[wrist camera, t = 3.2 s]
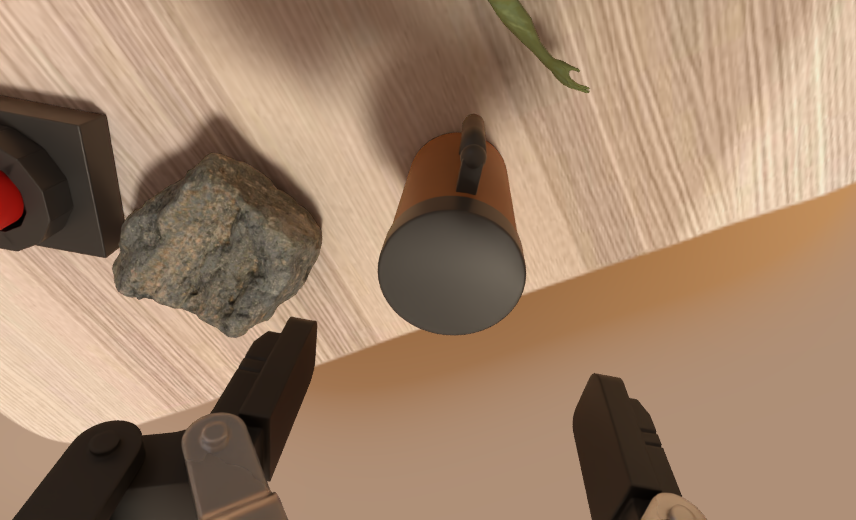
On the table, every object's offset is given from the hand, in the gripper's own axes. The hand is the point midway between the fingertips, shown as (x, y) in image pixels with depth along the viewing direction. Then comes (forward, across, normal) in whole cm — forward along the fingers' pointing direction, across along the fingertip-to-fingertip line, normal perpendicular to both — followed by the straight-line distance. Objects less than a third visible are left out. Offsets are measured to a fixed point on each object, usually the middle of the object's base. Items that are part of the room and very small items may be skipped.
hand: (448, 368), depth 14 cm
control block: (+15, +24, +4) cm, 29 cm away
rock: (+15, +13, +6) cm, 21 cm away
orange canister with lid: (+15, 0, 0) cm, 15 cm away
